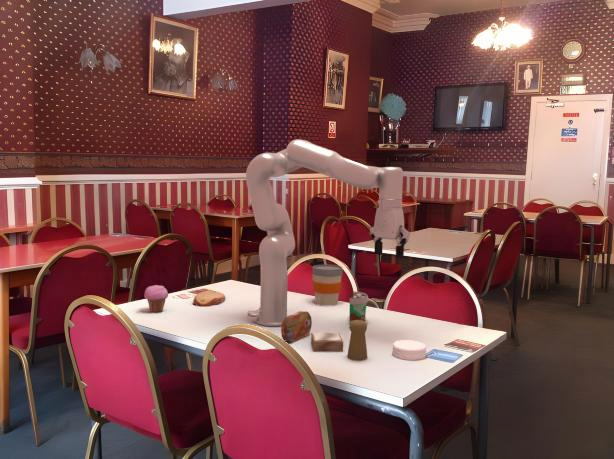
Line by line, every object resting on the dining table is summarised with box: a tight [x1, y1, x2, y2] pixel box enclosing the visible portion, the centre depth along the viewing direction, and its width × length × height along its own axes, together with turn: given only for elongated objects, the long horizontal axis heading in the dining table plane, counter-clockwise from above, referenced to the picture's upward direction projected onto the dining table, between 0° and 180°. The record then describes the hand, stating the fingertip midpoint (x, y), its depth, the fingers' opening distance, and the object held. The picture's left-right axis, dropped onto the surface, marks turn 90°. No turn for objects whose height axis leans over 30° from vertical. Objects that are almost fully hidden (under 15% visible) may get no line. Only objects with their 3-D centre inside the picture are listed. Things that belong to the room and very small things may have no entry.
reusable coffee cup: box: [311, 264, 343, 306], centre depth 241 cm, size 13×13×15 cm
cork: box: [346, 320, 368, 362], centre depth 173 cm, size 6×6×11 cm
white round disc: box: [392, 339, 427, 361], centre depth 177 cm, size 10×10×4 cm
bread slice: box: [192, 290, 226, 308], centre depth 242 cm, size 18×18×4 cm
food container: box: [348, 291, 369, 325], centre depth 212 cm, size 12×6×10 cm, turn 168°
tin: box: [280, 310, 313, 343], centre depth 191 cm, size 15×3×8 cm, turn 148°
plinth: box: [310, 332, 344, 352], centre depth 183 cm, size 9×9×3 cm
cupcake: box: [144, 284, 169, 313], centre depth 223 cm, size 9×9×10 cm
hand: (388, 255), depth 197 cm, fingers open, 9 cm apart
